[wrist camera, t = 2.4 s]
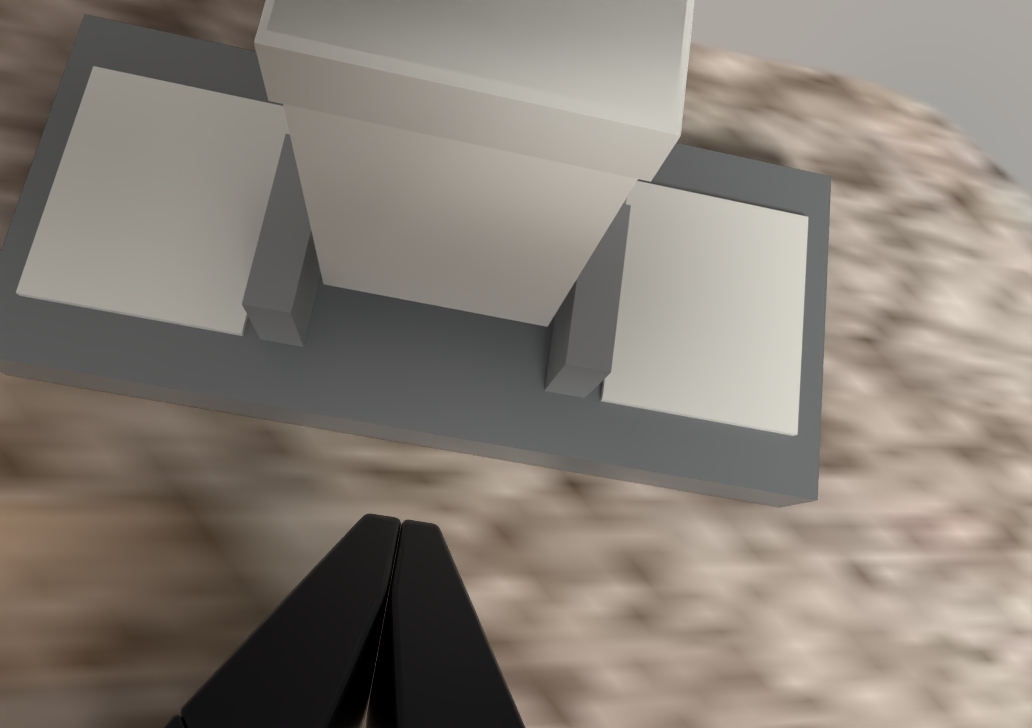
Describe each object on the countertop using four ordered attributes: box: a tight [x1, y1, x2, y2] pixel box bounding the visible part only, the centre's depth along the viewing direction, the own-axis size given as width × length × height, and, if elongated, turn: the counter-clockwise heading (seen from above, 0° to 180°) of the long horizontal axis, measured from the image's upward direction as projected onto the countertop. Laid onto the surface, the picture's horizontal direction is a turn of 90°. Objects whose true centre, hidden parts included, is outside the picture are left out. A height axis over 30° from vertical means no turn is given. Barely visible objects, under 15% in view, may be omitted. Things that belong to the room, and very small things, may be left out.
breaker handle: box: [254, 0, 694, 327], centre depth 14 cm, size 2×5×8 cm, turn 82°
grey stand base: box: [0, 14, 831, 507], centre depth 20 cm, size 9×20×4 cm, turn 81°
